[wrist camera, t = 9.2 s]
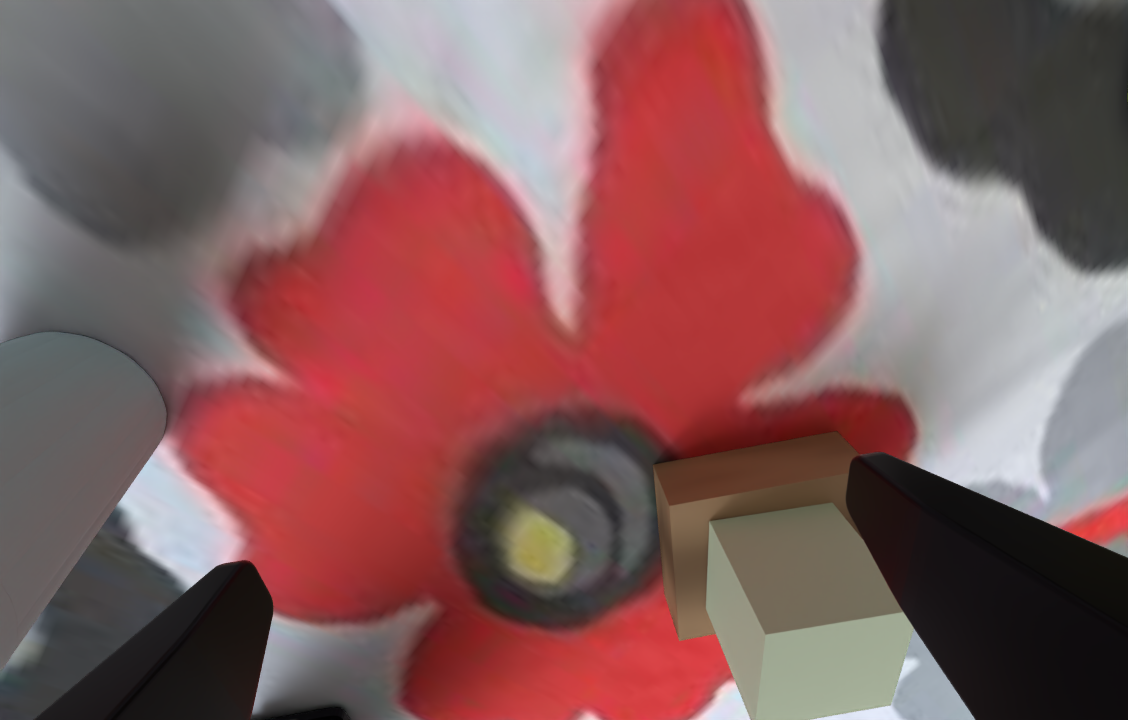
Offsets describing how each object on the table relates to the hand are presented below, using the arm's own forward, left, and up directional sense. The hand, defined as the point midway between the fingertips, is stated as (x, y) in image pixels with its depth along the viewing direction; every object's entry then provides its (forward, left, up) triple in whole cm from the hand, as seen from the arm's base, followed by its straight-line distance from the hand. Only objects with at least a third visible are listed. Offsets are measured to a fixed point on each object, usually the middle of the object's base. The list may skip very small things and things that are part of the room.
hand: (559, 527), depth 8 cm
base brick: (-13, -8, -12) cm, 20 cm away
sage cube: (-13, -8, -10) cm, 18 cm away
